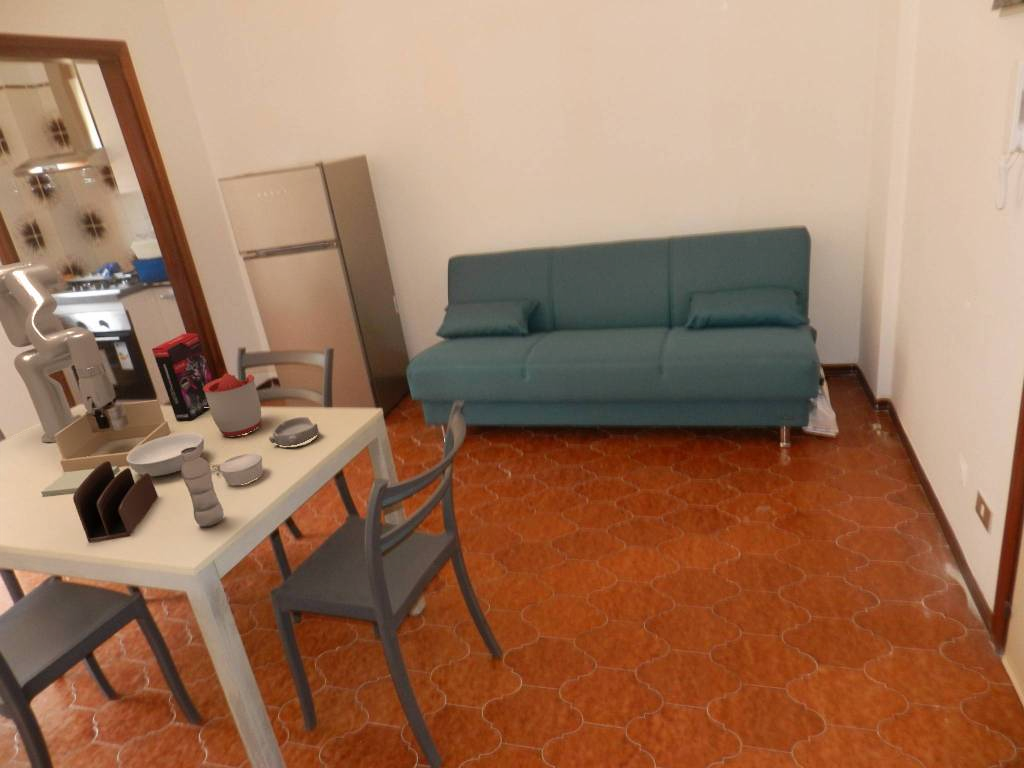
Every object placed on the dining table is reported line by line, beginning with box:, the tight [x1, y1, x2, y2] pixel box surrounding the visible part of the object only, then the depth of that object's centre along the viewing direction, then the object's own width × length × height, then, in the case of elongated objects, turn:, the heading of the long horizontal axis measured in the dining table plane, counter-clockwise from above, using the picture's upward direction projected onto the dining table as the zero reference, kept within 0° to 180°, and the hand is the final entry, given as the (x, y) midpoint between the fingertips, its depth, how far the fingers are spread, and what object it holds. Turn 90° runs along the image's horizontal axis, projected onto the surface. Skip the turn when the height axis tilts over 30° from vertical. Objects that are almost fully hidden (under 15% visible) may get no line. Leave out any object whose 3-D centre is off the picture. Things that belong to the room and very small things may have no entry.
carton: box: [54, 399, 171, 473], centre depth 219 cm, size 24×22×12 cm
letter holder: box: [72, 461, 159, 544], centre depth 175 cm, size 10×20×14 cm, turn 7°
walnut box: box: [85, 403, 129, 433], centre depth 217 cm, size 5×9×7 cm, turn 90°
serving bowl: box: [126, 432, 205, 477], centre depth 203 cm, size 21×21×7 cm
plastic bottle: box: [180, 447, 225, 528], centre depth 166 cm, size 6×7×20 cm
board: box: [40, 466, 121, 497], centre depth 201 cm, size 12×16×2 cm
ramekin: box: [219, 452, 264, 486], centre depth 190 cm, size 11×11×5 cm
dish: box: [268, 416, 319, 446], centre depth 212 cm, size 14×14×5 cm
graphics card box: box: [151, 332, 213, 422], centre depth 243 cm, size 17×7×27 cm, turn 168°
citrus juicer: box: [203, 372, 262, 438], centre depth 223 cm, size 16×17×20 cm
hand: (109, 423), depth 218 cm, fingers closed on walnut box, 5 cm apart
